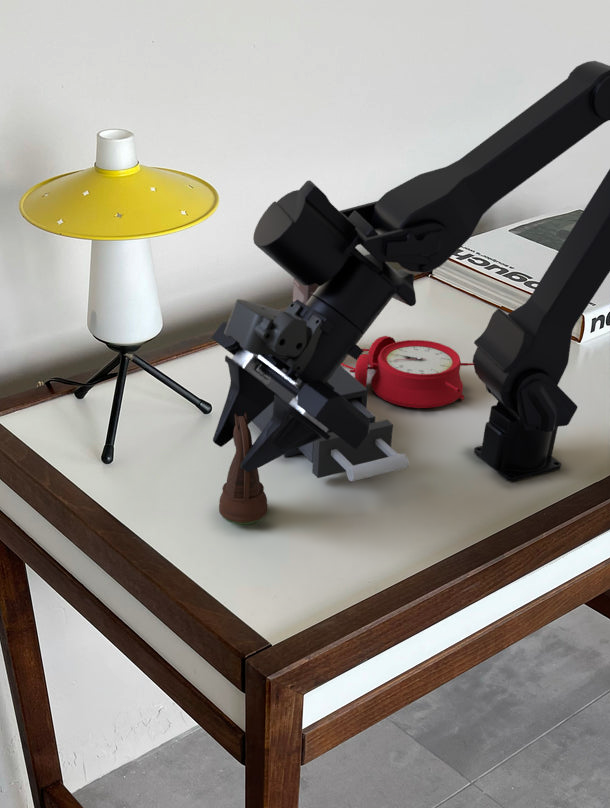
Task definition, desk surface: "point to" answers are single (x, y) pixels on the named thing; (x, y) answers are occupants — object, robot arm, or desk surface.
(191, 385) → the desk surface
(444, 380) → the alarm clock
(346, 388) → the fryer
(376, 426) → the drawer
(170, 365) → the desk surface
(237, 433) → the chess piece
